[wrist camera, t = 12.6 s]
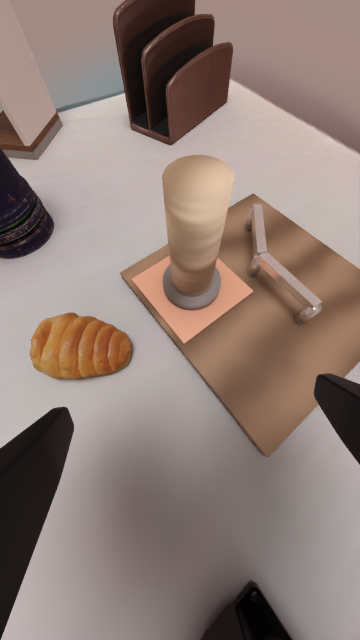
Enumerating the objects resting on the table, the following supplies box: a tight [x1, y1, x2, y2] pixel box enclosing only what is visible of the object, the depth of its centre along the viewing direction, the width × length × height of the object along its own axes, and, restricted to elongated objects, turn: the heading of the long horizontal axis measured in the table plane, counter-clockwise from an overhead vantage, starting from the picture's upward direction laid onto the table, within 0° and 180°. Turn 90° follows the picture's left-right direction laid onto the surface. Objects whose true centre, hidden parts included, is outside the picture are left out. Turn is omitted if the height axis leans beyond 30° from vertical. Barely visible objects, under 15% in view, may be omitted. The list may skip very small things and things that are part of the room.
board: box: [120, 194, 360, 457], centre depth 24 cm, size 24×23×1 cm
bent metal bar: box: [245, 204, 322, 325], centre depth 23 cm, size 15×4×4 cm, turn 15°
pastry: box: [30, 313, 132, 379], centre depth 21 cm, size 9×7×4 cm
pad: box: [132, 256, 254, 345], centre depth 24 cm, size 10×10×1 cm
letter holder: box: [113, 0, 233, 145], centre depth 35 cm, size 10×20×14 cm, turn 144°
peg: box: [162, 155, 234, 310], centre depth 18 cm, size 6×6×12 cm
